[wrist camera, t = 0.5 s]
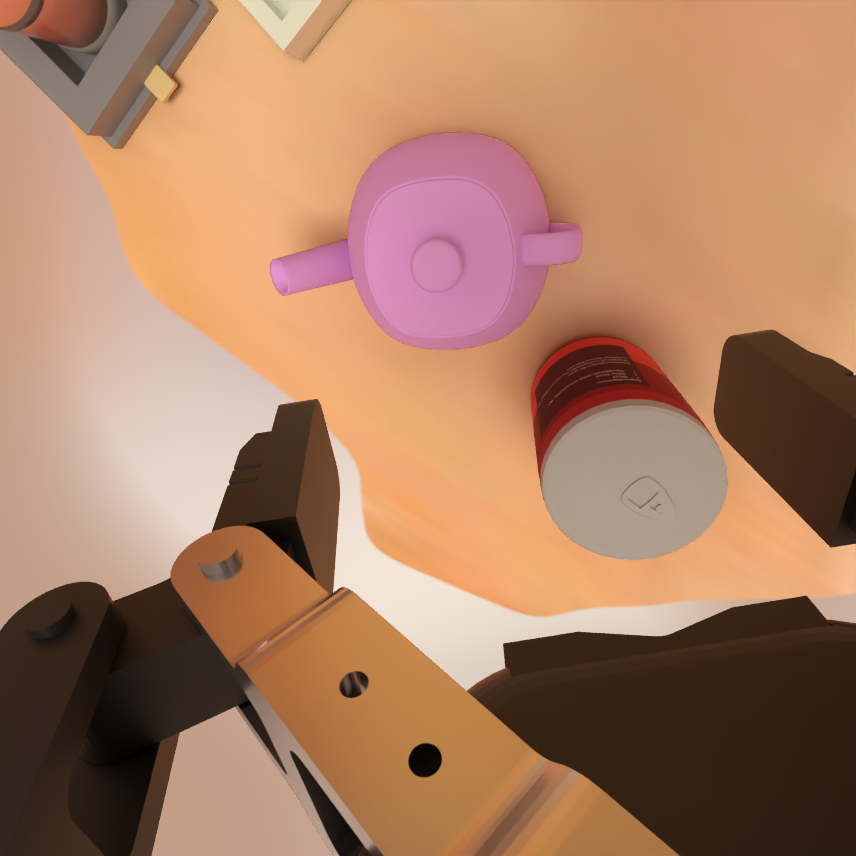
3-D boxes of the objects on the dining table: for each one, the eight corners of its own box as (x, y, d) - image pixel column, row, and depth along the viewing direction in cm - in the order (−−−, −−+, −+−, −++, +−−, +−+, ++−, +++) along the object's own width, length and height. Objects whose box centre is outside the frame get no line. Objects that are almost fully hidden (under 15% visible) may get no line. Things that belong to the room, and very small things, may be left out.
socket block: (54, -173, 27) (7, -209, 24) (229, 24, 29) (204, 10, 27) (-31, -4, 30) (-81, -20, 27) (133, 160, 32) (102, 159, 30)
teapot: (576, 322, 33) (601, 375, 25) (324, 342, 36) (269, 398, 27) (573, 118, 29) (603, 100, 21) (289, 156, 31) (211, 153, 23)
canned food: (624, 471, 37) (669, 585, 27) (508, 424, 36) (510, 522, 26) (690, 365, 33) (770, 450, 24) (564, 312, 33) (591, 375, 23)
